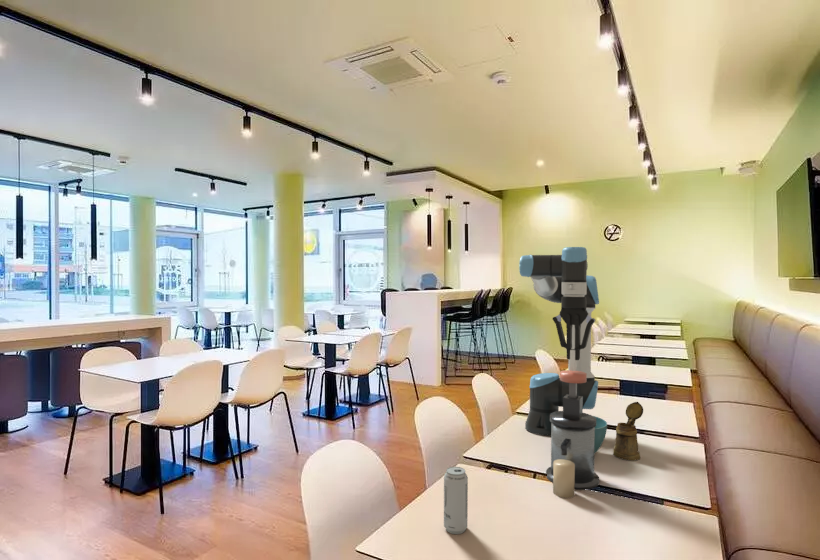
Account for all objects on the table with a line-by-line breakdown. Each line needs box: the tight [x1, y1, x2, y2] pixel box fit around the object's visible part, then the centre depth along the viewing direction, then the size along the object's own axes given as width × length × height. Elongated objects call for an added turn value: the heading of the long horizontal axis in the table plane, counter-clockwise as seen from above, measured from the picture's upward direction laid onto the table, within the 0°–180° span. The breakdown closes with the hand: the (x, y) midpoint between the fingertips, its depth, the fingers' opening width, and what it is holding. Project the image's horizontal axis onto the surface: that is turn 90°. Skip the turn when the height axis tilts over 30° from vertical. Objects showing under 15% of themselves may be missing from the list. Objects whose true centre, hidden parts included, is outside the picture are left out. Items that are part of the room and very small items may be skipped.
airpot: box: [545, 394, 600, 491], centre depth 149 cm, size 21×16×26 cm
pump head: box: [559, 369, 587, 399], centre depth 151 cm, size 8×8×8 cm
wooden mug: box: [612, 401, 644, 461], centre depth 172 cm, size 9×14×18 cm, turn 132°
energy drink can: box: [443, 466, 469, 535], centre depth 121 cm, size 6×6×15 cm
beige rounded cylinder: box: [552, 459, 575, 499], centre depth 141 cm, size 6×6×9 cm
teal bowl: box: [593, 415, 608, 455], centre depth 172 cm, size 18×18×12 cm
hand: (573, 369), depth 151 cm, fingers closed
